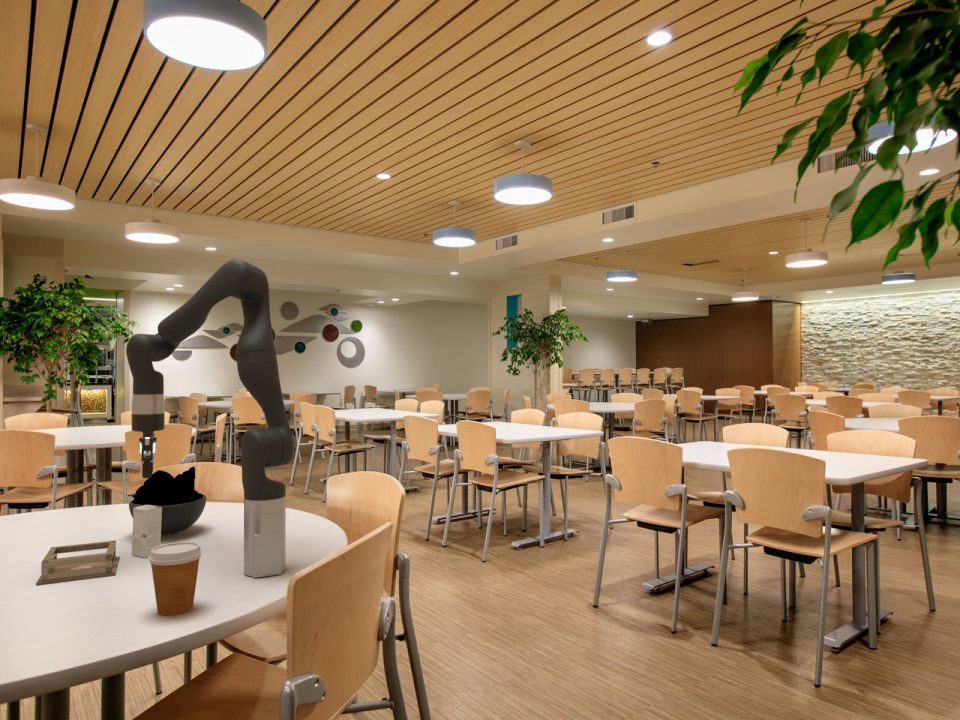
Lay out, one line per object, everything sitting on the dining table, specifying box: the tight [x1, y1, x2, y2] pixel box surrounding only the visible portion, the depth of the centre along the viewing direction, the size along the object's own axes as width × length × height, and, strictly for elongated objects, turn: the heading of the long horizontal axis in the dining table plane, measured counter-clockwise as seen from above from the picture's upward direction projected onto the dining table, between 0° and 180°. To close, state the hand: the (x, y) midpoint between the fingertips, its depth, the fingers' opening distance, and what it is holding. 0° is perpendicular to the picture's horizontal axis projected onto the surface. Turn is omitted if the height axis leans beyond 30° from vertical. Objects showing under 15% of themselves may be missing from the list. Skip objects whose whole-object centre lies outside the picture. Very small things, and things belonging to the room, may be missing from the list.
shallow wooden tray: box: [40, 540, 117, 581], centre depth 148 cm, size 13×13×4 cm
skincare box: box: [131, 505, 162, 559], centre depth 161 cm, size 6×4×12 cm
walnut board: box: [35, 555, 121, 586], centre depth 148 cm, size 15×15×1 cm
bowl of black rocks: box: [128, 466, 207, 536], centre depth 181 cm, size 20×20×19 cm
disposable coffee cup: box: [147, 541, 203, 616], centre depth 124 cm, size 10×10×12 cm
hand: (147, 475), depth 162 cm, fingers open, 8 cm apart
